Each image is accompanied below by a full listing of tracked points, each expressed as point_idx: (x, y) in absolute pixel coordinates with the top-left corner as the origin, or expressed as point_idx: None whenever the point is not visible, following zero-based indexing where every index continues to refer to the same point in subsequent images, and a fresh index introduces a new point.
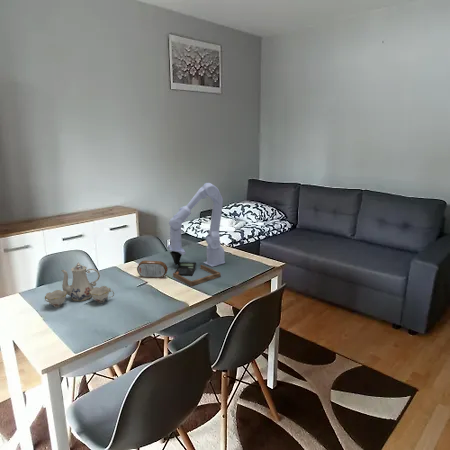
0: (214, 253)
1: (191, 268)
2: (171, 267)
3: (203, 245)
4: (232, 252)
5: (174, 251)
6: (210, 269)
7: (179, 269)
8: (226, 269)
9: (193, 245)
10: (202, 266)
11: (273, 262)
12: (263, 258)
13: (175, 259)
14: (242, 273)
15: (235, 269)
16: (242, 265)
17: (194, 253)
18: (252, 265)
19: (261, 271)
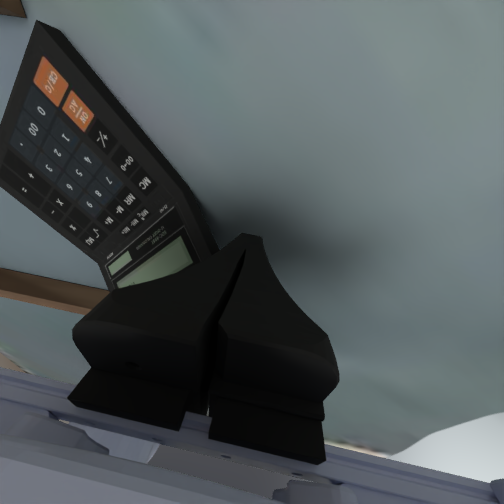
0: (70, 422)
1: (111, 257)
2: (283, 200)
3: (354, 446)
4: None
5: (222, 414)
6: (7, 291)
7: (145, 187)
8: (64, 333)
9: (398, 445)
10: (88, 305)
11: None
12: None
13: (204, 260)
14: (3, 328)
15: (53, 343)
16: (86, 371)
17: (328, 402)
18: (74, 377)
19: (12, 357)
